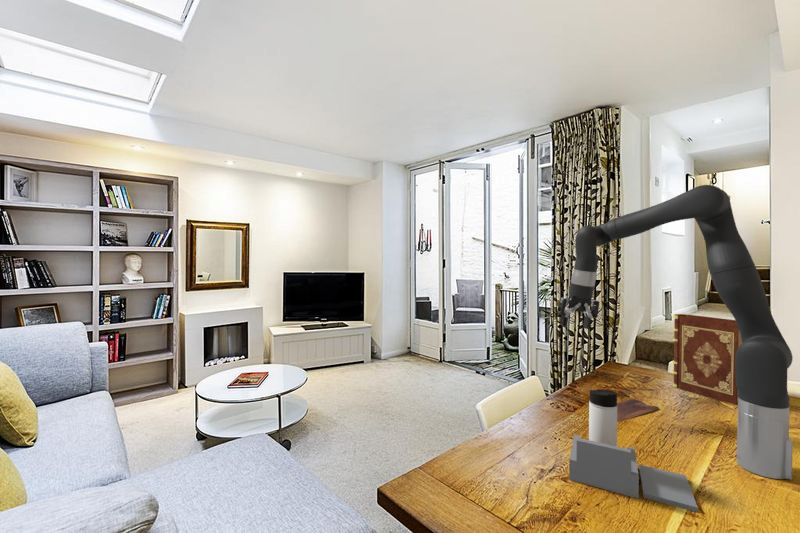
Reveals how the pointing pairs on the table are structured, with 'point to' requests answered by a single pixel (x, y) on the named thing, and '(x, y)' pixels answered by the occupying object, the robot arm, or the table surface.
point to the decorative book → (706, 356)
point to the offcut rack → (604, 466)
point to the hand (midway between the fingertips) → (574, 327)
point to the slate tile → (667, 487)
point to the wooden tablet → (632, 409)
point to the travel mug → (603, 416)
